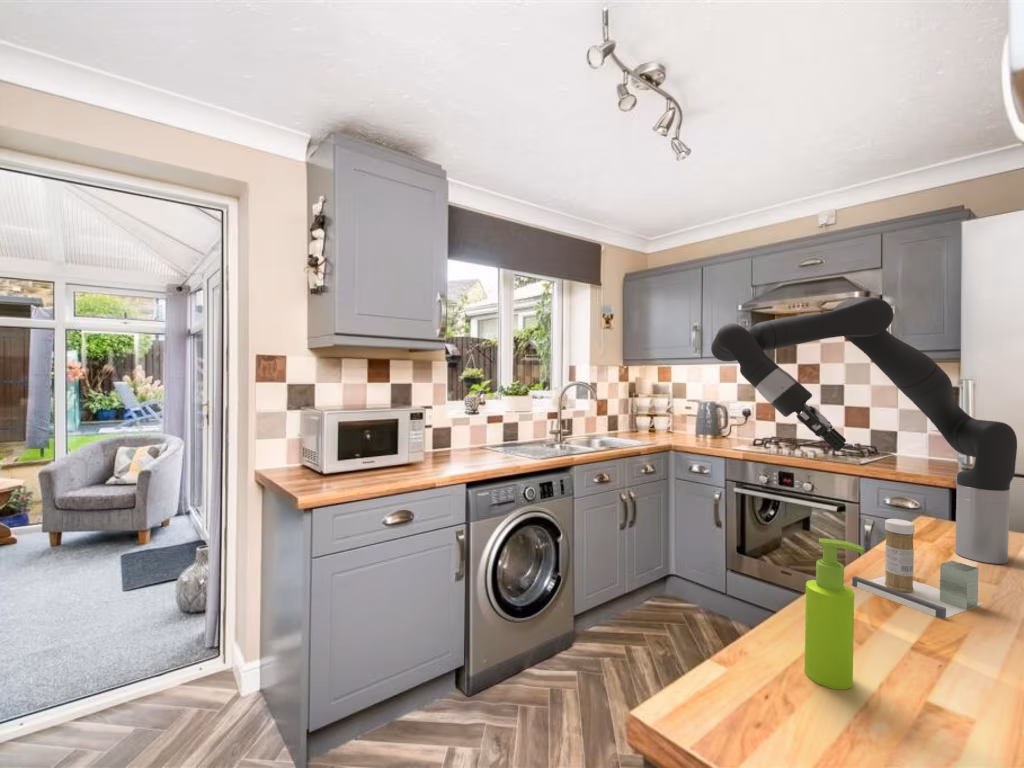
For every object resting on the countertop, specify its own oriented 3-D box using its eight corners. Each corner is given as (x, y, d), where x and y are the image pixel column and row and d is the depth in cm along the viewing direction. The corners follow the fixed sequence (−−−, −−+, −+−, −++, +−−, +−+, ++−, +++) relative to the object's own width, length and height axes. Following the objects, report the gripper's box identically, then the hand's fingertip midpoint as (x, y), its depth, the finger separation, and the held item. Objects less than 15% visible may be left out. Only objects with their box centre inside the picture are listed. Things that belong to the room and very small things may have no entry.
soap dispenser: (863, 697, 66) (865, 552, 66) (804, 680, 70) (806, 542, 70) (859, 675, 71) (862, 539, 71) (804, 660, 75) (807, 531, 75)
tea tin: (950, 596, 94) (951, 560, 94) (977, 605, 90) (978, 568, 90) (939, 600, 92) (940, 563, 92) (966, 610, 88) (967, 571, 88)
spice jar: (906, 585, 99) (907, 519, 99) (918, 594, 94) (919, 525, 94) (880, 582, 100) (881, 517, 100) (890, 591, 96) (891, 523, 95)
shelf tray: (892, 580, 105) (892, 565, 104) (982, 611, 91) (983, 594, 91) (851, 592, 99) (851, 577, 99) (942, 627, 85) (942, 609, 85)
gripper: (793, 380, 105) (857, 438, 98) (799, 380, 116) (857, 431, 110) (765, 404, 108) (825, 461, 102) (774, 401, 120) (829, 452, 113)
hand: (842, 445), depth 106 cm, fingers open, 8 cm apart
